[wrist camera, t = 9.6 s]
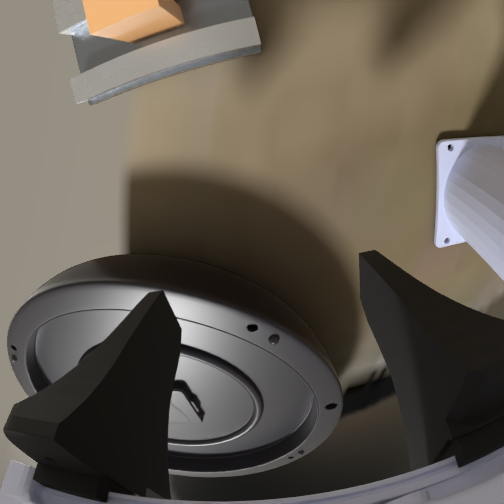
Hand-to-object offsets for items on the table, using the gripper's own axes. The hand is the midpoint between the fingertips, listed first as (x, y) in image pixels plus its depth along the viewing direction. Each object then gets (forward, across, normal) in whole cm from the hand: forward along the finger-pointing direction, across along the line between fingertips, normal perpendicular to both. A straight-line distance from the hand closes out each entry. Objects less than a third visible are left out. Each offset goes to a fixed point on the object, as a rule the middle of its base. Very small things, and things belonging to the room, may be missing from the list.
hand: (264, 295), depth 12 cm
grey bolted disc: (+10, +12, +15) cm, 22 cm away
